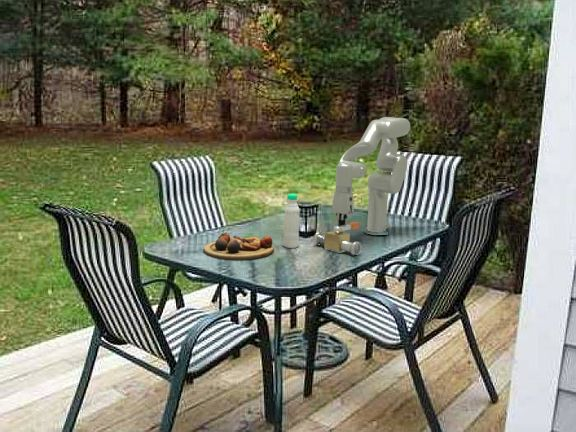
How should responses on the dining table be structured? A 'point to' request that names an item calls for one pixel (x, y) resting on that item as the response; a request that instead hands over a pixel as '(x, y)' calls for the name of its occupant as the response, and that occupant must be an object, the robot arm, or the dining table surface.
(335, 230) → the valve lever
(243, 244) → the wooden plate with food
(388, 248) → the dining table surface
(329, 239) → the valve pipe
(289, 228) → the water bottle
